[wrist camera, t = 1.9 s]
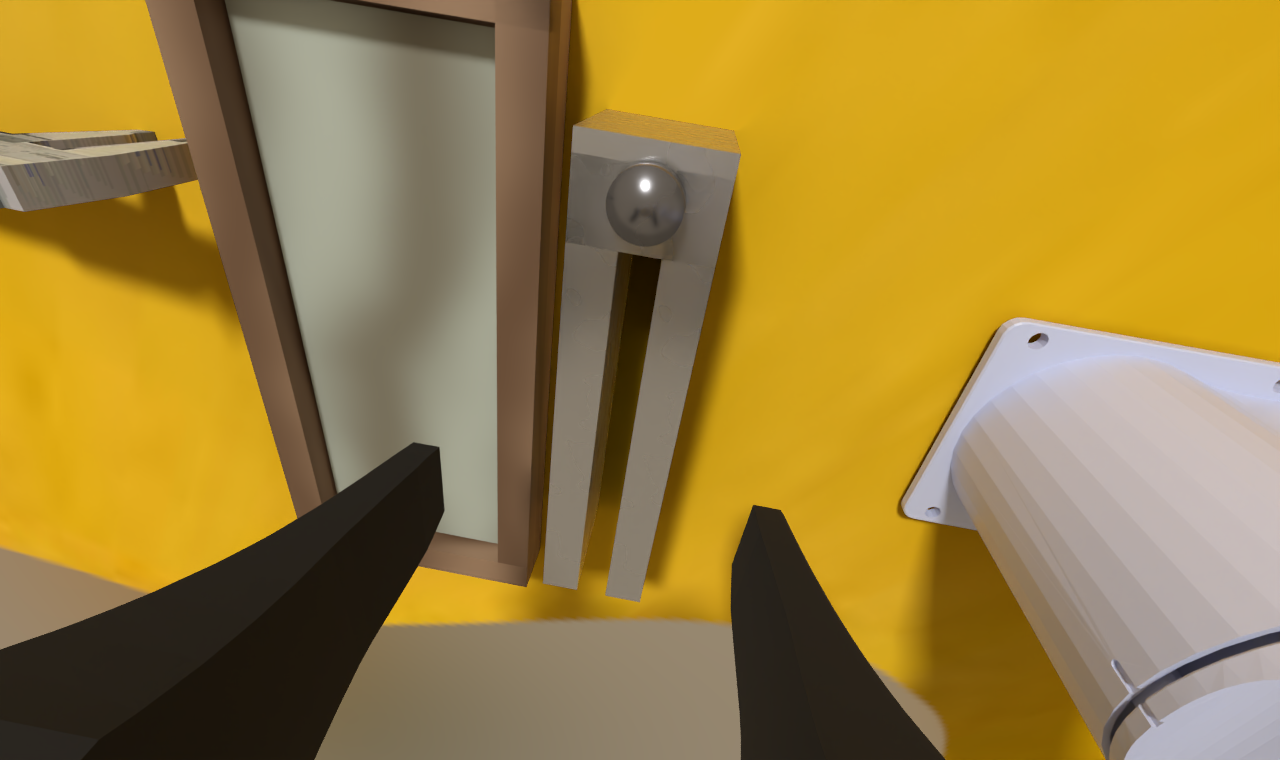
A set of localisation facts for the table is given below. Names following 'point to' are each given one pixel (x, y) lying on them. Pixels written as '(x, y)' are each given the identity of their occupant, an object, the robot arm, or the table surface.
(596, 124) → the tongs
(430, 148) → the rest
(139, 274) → the table surface
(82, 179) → the caliper
